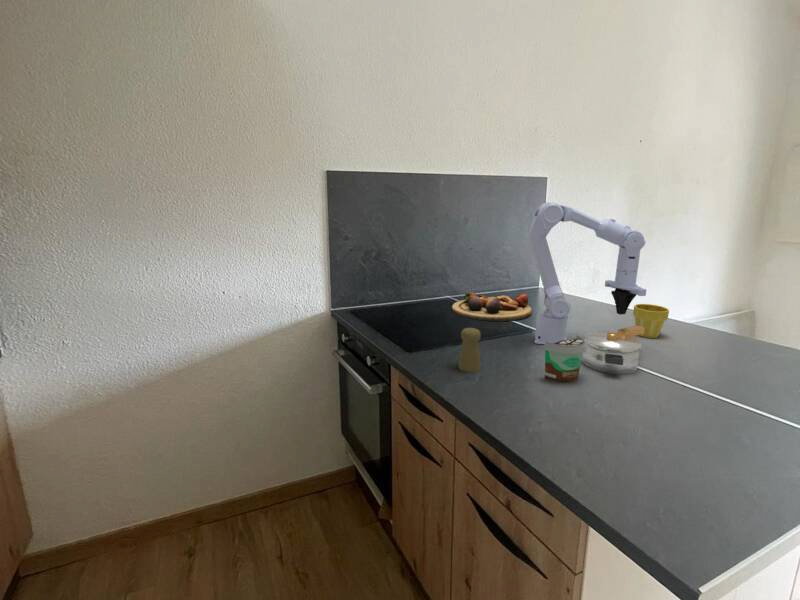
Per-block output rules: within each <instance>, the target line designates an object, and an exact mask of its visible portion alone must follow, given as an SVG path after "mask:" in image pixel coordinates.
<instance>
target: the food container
mask: <svg viewBox="0 0 800 600" xmlns="http://www.w3.org/2000/svg"><path fill="white" fill-rule="evenodd" d="M543 350H544V379H547V380H550V381H553V382H559V383H571V382H575V380H576V381H577V380H578V379H577V378H579V373H580V368H581V365H582V364H581V363H582V355H583V352H585V351H586V343H585V340H584V339H583V336H579V335H576V338H573V339H566V340H561V341H559V342H556V343H549V342H545V344H543Z"/></svg>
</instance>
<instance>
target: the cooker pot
mask: <svg viewBox="0 0 800 600" xmlns="http://www.w3.org/2000/svg"><path fill="white" fill-rule="evenodd" d="M640 351H641V350H639V351H637V352H630V353H620V352H611V351H605V350H601V349H597V348H594V347H591V346H589V345H587V344H586V351H585V352H583V355H582V360H581V363H582V362H583V363H582V364H584V366H586V367H588V368H590V369H592V370H595V371H599V372H602V373H606V374H607V373H608V374H613V375H628V374H633V373H635V372H636V371H637V369H638V363H639V358H640V357H639V356H640Z"/></svg>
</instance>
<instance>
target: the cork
mask: <svg viewBox="0 0 800 600" xmlns="http://www.w3.org/2000/svg"><path fill="white" fill-rule="evenodd" d="M481 334H482V333H481V331H480V330H479V329H477V328H474V327H466V328H463V329H462V330H461V332H460V338H461V340H462V343H461V344H462V345H461V349H460V354H459V360H458V366H457V368H458V369H459V370H460V371H462V372H467V373H473V372H474V373H475V372H478V371H480V370H481V359H480V348H479V341H480V340H481Z"/></svg>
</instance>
